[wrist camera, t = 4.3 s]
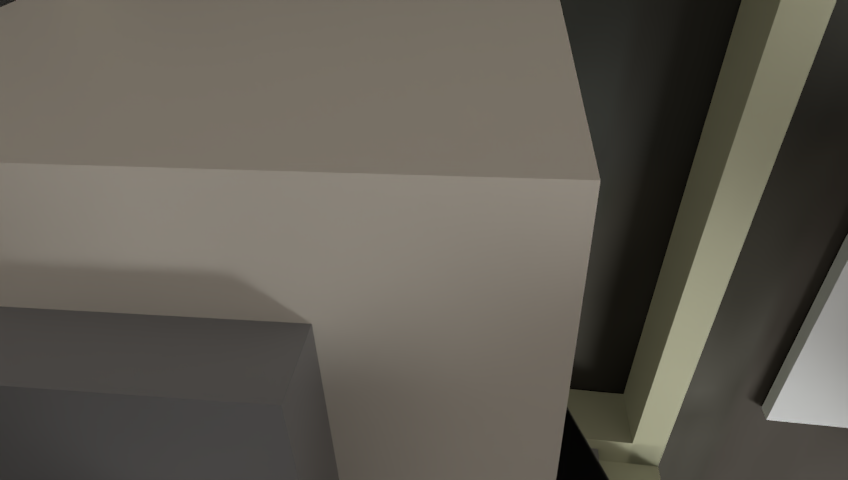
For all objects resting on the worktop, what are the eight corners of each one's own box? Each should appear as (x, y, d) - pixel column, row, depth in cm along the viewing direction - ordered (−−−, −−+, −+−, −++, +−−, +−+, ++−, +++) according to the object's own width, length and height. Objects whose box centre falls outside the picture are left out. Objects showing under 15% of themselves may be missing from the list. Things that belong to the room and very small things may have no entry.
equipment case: (920, -383, 10) (1584, -655, 4) (639, 438, 23) (690, 698, 16) (-1, -387, 12) (-634, -600, 5) (205, 393, 24) (91, 618, 18)
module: (545, -65, 8) (619, 258, 2) (503, 504, 15) (499, 914, 9) (157, -61, 8) (-476, 212, 3) (292, 486, 15) (174, 864, 10)
